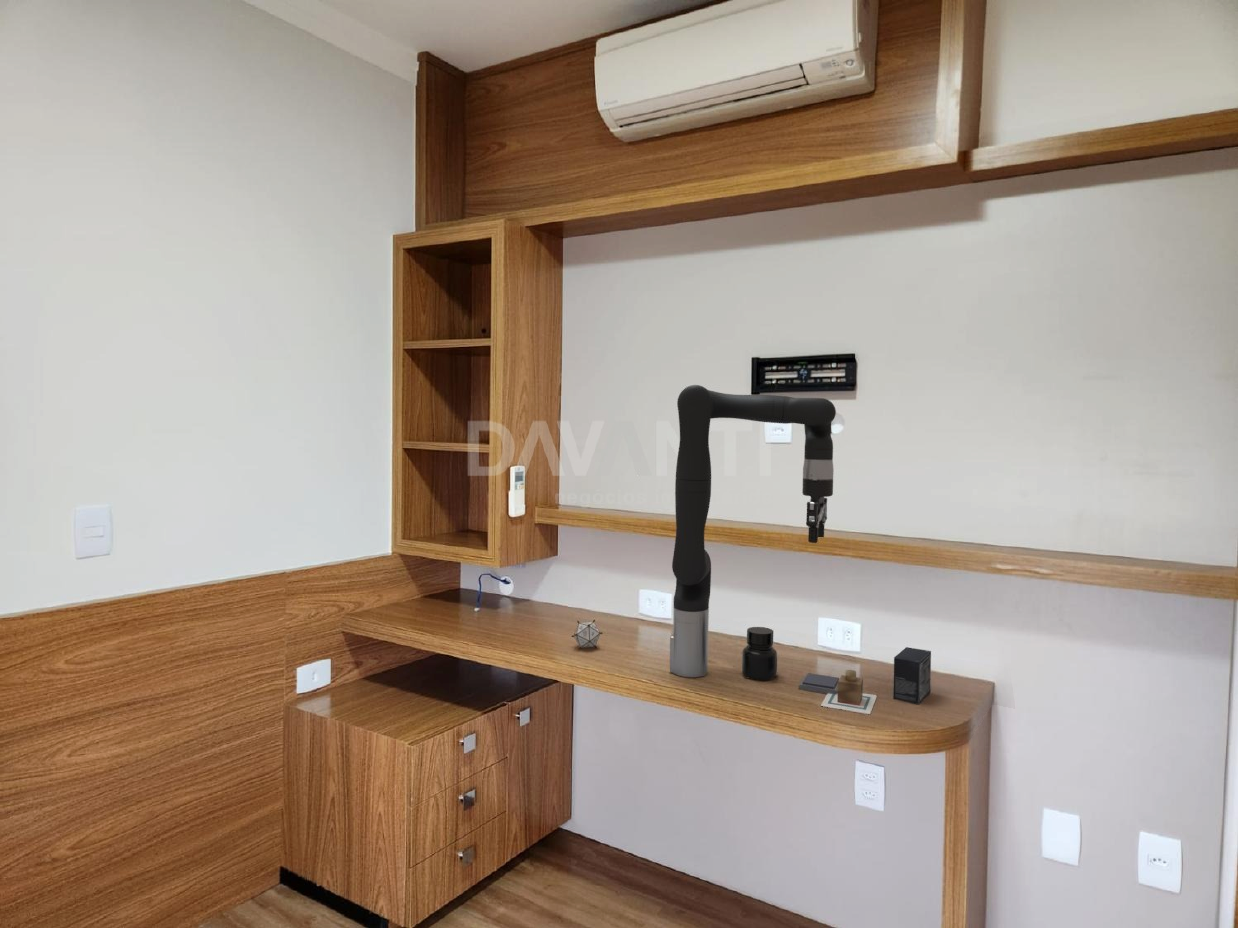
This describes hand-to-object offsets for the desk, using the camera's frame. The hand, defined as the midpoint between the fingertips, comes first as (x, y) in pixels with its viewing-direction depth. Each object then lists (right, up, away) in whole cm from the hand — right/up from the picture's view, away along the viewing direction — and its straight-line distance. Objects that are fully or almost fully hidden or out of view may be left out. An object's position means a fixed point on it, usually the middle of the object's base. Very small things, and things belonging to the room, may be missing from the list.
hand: (816, 540), depth 192 cm
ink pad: (0, -36, -4) cm, 37 cm away
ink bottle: (-14, -36, +4) cm, 39 cm away
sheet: (+4, -37, -14) cm, 40 cm away
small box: (+21, -37, -9) cm, 44 cm away
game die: (-60, -34, +26) cm, 74 cm away
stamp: (+4, -37, -14) cm, 39 cm away
